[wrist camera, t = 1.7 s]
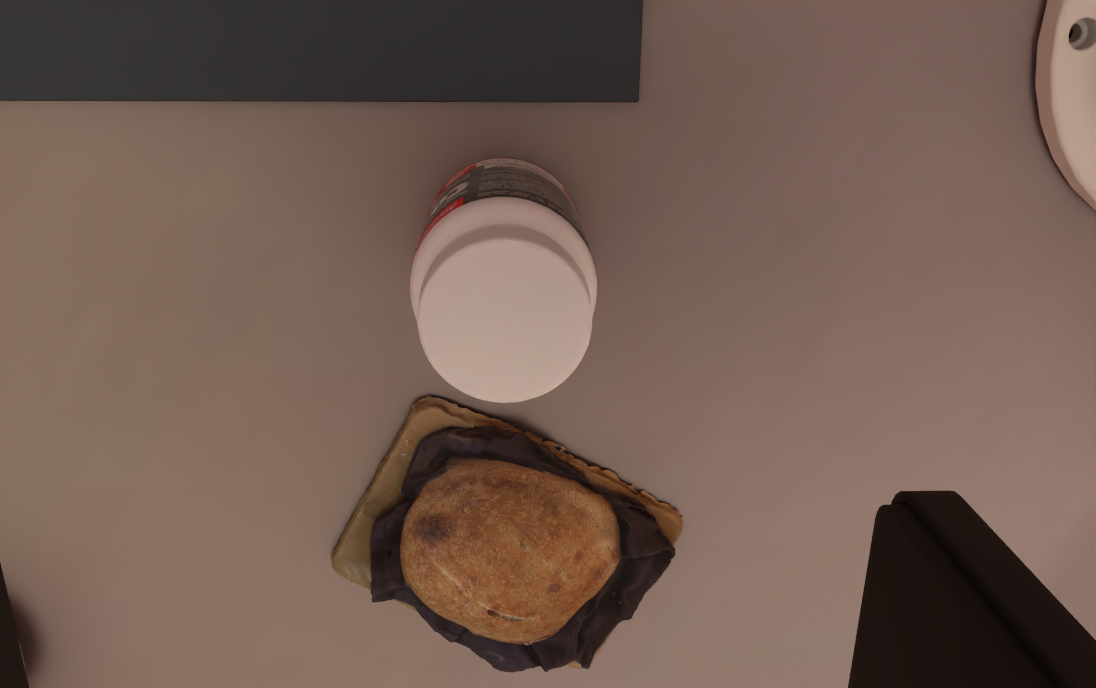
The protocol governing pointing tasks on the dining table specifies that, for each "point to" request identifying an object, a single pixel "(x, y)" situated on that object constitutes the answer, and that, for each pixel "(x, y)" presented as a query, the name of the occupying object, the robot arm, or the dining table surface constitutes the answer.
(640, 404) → the dining table surface
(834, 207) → the dining table surface
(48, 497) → the dining table surface
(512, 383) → the pill bottle
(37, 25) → the mat
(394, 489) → the bread roll
